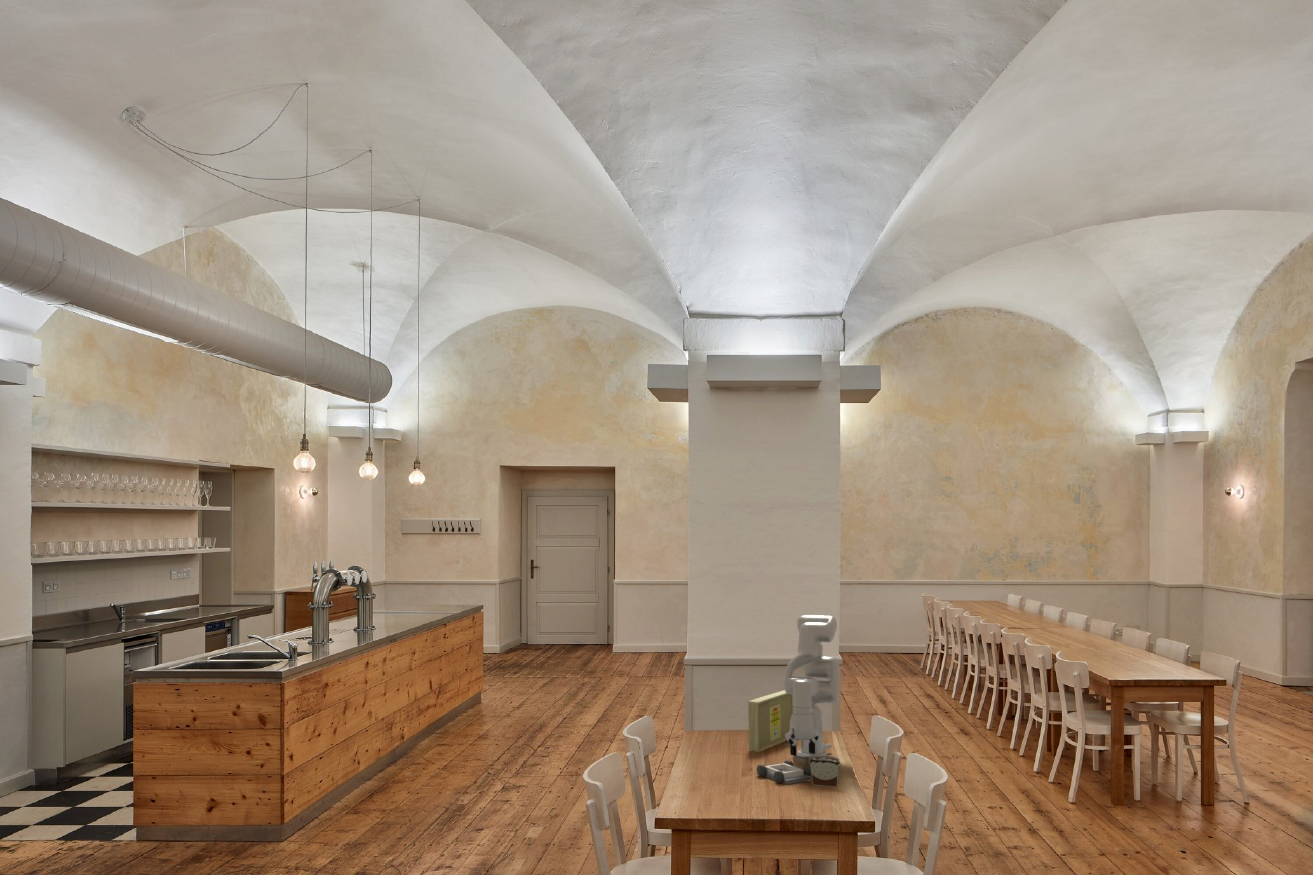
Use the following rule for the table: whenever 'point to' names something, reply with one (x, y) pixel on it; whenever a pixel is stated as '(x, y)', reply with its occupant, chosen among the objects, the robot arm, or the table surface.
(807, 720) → the robot arm
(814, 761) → the food container
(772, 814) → the table surface
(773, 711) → the flat product box
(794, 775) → the chassis
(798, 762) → the grey block on wood
